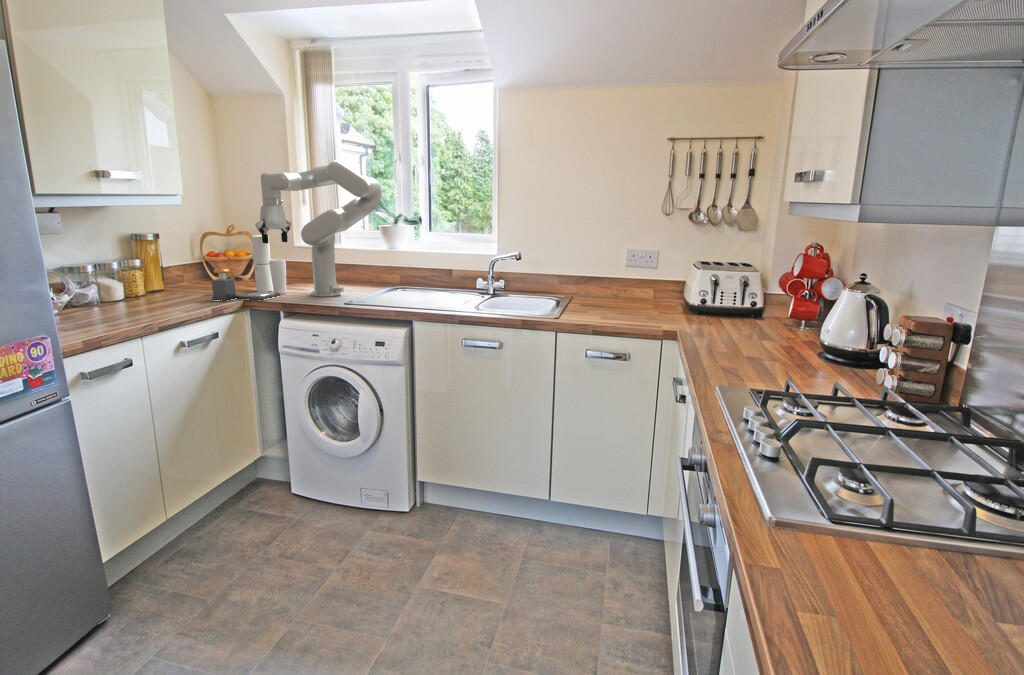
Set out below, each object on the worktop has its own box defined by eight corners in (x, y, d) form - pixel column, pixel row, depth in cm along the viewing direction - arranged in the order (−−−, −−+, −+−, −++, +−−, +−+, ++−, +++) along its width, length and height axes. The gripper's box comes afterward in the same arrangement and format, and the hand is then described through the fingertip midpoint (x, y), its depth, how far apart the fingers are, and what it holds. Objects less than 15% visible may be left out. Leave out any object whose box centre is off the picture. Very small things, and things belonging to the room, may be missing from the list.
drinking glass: (291, 292, 259) (288, 259, 256) (283, 294, 253) (280, 260, 249) (276, 292, 260) (273, 258, 256) (269, 294, 253) (266, 260, 250)
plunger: (235, 288, 240) (233, 269, 238) (224, 290, 235) (222, 270, 233) (223, 287, 242) (220, 268, 240) (212, 290, 236) (210, 270, 234)
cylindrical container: (269, 292, 258) (264, 236, 252) (253, 292, 258) (248, 236, 252) (276, 290, 265) (271, 235, 259) (260, 289, 265) (255, 235, 259)
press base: (280, 296, 249) (278, 277, 247) (253, 303, 232) (251, 282, 230) (241, 294, 253) (239, 275, 251) (211, 300, 237) (209, 280, 235)
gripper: (283, 202, 256) (286, 241, 260) (248, 202, 242) (252, 243, 246) (294, 202, 252) (297, 242, 256) (259, 202, 238) (263, 244, 242)
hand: (275, 242), depth 251 cm, fingers open, 9 cm apart
